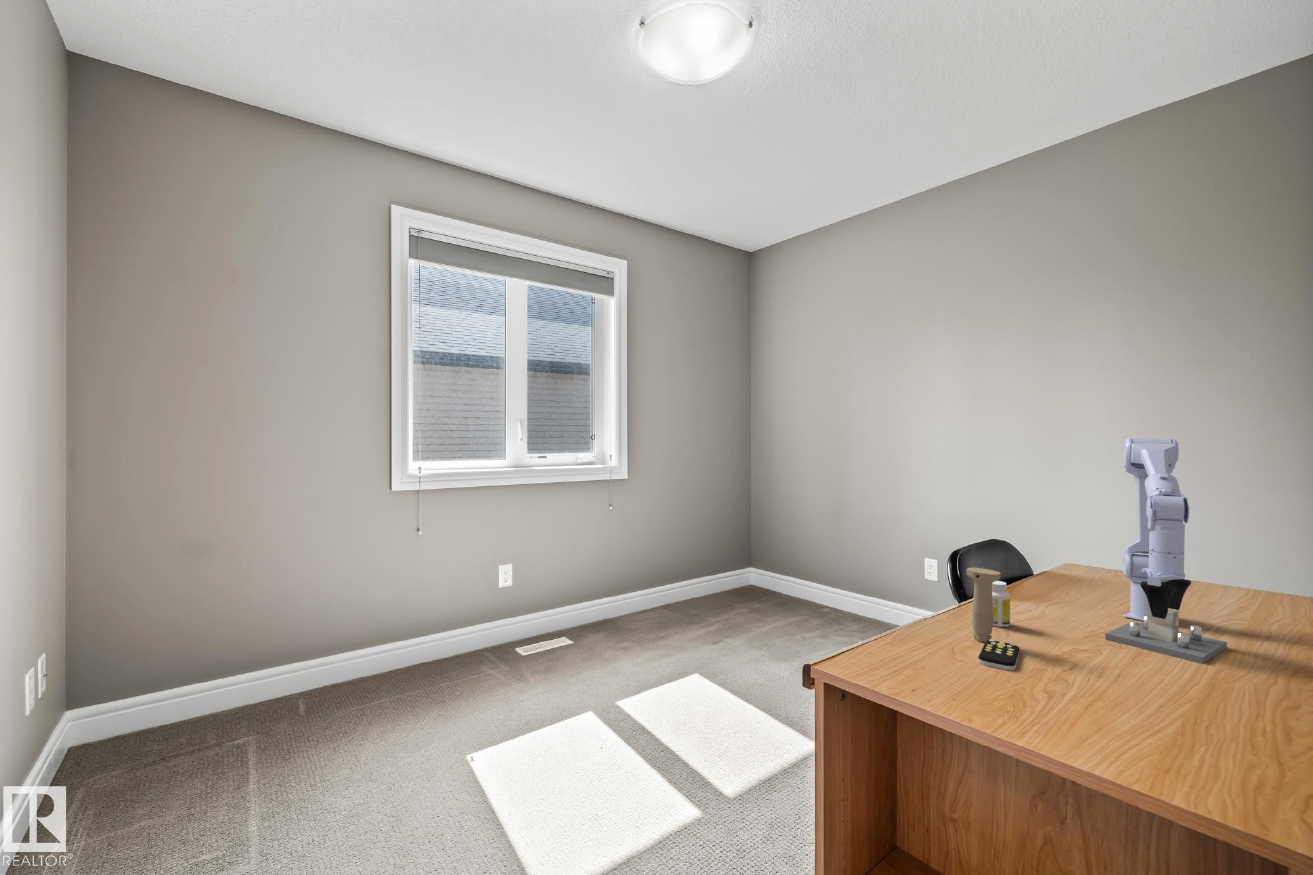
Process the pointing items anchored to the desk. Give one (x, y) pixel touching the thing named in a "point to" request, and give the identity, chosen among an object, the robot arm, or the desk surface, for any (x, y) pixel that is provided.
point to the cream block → (1164, 625)
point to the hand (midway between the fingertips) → (1165, 614)
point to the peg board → (1182, 647)
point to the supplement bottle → (1000, 604)
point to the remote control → (999, 655)
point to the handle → (982, 602)
